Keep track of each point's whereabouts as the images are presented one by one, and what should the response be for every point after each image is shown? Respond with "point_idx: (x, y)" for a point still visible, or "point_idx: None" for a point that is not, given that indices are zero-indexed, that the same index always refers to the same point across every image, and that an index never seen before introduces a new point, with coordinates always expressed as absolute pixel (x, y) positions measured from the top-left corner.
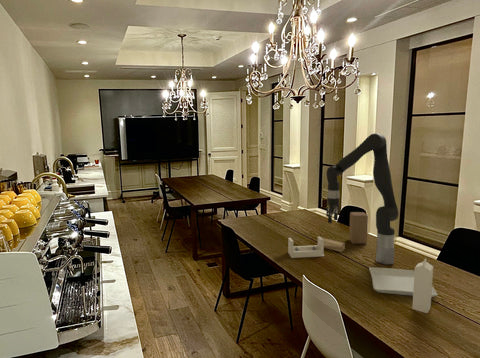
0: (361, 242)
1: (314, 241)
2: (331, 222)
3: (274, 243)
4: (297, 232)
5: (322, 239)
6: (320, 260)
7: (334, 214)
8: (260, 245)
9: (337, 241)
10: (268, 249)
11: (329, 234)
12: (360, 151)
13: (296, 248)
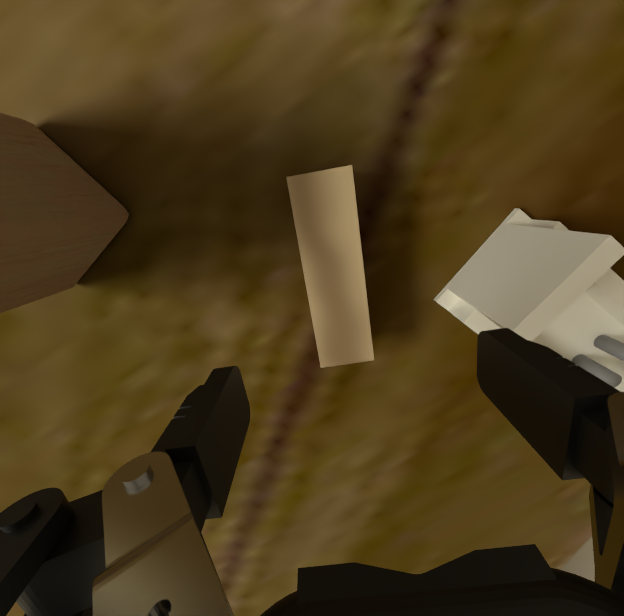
0: (63, 154)
1: (300, 413)
2: (498, 330)
3: (484, 519)
4: (244, 546)
5: (605, 251)
6: (609, 176)
7: (208, 510)
8: (554, 539)
9: (305, 244)
10: (588, 487)
11: (114, 428)
12: None
13: (616, 374)
